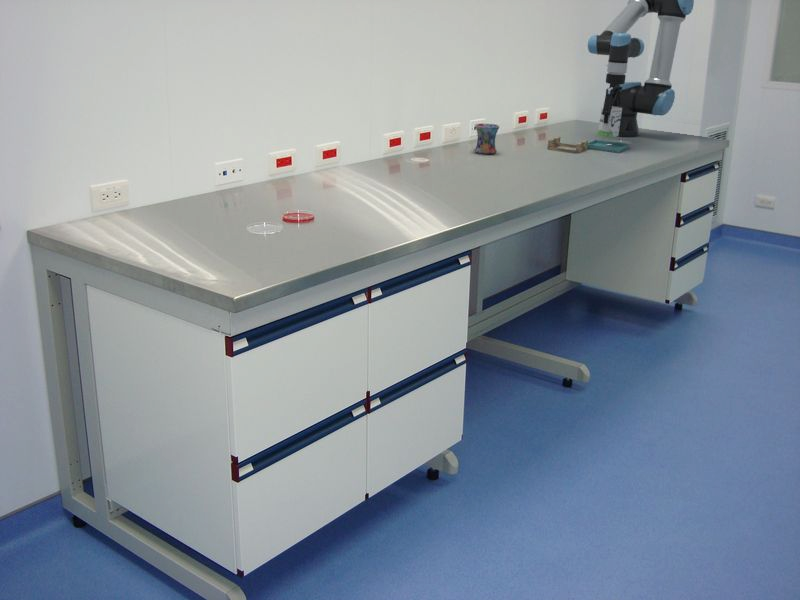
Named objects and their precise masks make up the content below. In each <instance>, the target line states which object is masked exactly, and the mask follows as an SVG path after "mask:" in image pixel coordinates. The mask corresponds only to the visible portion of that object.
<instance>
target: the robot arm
mask: <svg viewBox="0 0 800 600" xmlns="http://www.w3.org/2000/svg"><path fill="white" fill-rule="evenodd" d="M694 2H695V0H628V2H627V5H626V6H625V7H624V8H623V9H622V11H621V12H620V13H619V14H618V15H617V16H616V17H615V18H614V19H613V21H612V22H611V23H610V24H608V26H606V28H605V29H604V30H602V31H603V32H602V33H600V35H599V34H592V35H591V36H590V37H589V38H588V42H587V49H588V52H589V53H591V54H594V55H597V56H608V61H607V63H606V67H607V70H606V72H607V73H606V75H605V76H606V77H605V83H606V84H609V87H608V88H606V90H605V97H604V101H603V106H602V107H603V111H602V115H604V117H603V125H602V131H605V132H609V126H610V118H611V115H610V113H611V109H612V106H615V107H621V108H622V113H621V120H620V128H619V135H618V136H617V137H631V138H632V137H638V136H639V131H640V130H639V125H638V119H637V117H638V113H639V114H646V115H652V116H665V115H666V114H668V113H669V112H670V111H671V109H672V107H673V106H674V105H673V104H674V103H675V99H676V95H675V94H676V93H675V90H674V89H672V86H673V84H672V83H671V81H670V80H671V73H672V68H673V63H674V58H675V52H676V48H677V44H678V38H679V34H680V28H681V24H682V23H683V22H684V21H685V20H686V16H689V15H690V14H691V13H692V11H693V9H694V4H695V3H694ZM650 13H654V14H657V19H658V20H659V25H658V30H657V36H656V40H655V46H654V49H653V50H654V52H653V55H652V57H653V58H652V60H651V65H650V66H651V67H650V72H649V76H648V77H649V78H647V79H646V80H645V81H644V84H643V85H642V82H641V81H627V82H626V77H627V76H626V73H627V69H628V61H629V58H632V59H634V58H637V57H639V56H642V54H643V52H644V50H645V43H644V42H643V40H642V39H641V38H638V37H632V35H631V34H630V33H628V32H629V30H631V28H632V27H633V26H634V25H635V24H636V23H637V22H638V20H639V19H641V18H643V17H645V16H646V15H647V14H650Z"/></svg>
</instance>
